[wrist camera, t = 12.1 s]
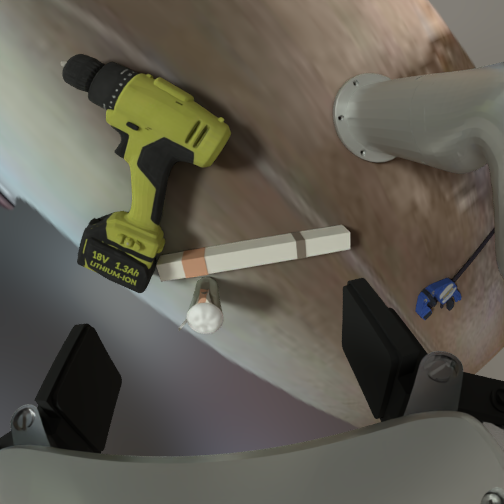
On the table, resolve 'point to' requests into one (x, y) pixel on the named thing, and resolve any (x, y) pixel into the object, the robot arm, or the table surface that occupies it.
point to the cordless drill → (141, 161)
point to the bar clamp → (444, 289)
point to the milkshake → (205, 307)
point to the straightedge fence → (253, 252)
